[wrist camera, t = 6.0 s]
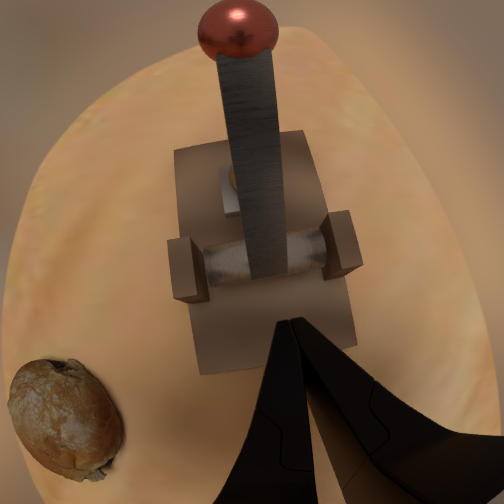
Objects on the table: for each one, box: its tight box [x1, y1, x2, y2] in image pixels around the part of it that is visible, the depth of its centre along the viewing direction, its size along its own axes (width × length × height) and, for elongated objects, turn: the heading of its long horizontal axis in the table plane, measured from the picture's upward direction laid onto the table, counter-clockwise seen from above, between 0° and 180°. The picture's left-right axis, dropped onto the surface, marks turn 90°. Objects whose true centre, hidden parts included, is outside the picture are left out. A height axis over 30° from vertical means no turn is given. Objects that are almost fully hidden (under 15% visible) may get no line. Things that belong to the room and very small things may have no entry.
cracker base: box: [167, 130, 363, 375], centre depth 17 cm, size 16×10×6 cm, turn 10°
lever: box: [198, 0, 327, 288], centre depth 12 cm, size 6×6×13 cm
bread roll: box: [8, 359, 122, 482], centre depth 15 cm, size 10×10×8 cm
